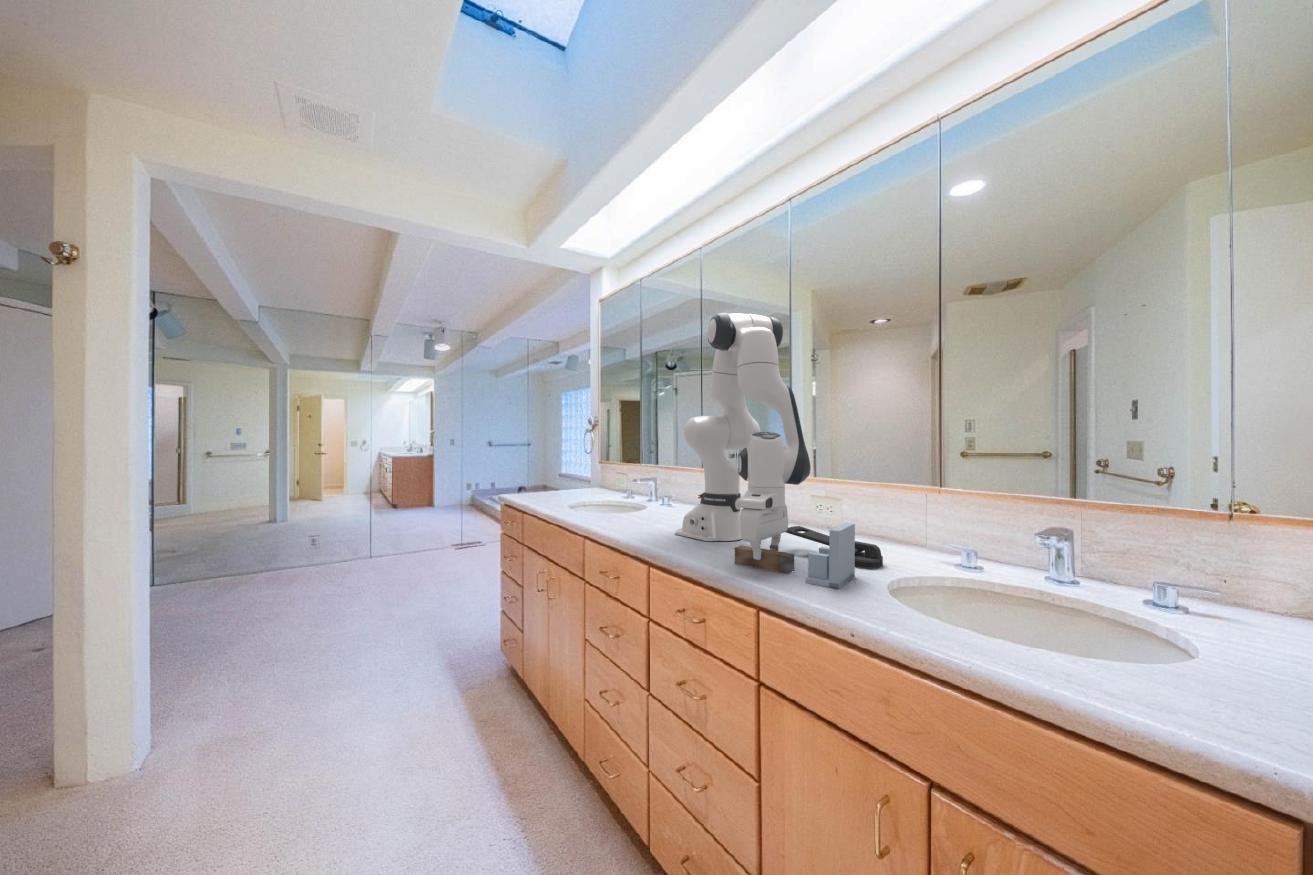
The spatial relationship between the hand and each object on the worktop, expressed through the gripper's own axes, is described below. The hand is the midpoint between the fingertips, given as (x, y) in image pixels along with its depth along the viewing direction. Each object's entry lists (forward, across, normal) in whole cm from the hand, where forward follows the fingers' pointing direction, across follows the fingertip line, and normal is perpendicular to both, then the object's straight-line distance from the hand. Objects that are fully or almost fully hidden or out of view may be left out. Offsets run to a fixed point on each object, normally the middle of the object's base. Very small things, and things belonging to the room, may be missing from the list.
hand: (766, 555), depth 111 cm
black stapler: (+3, -20, +10) cm, 23 cm away
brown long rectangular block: (+3, 0, -1) cm, 3 cm away
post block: (+3, 0, +15) cm, 16 cm away
